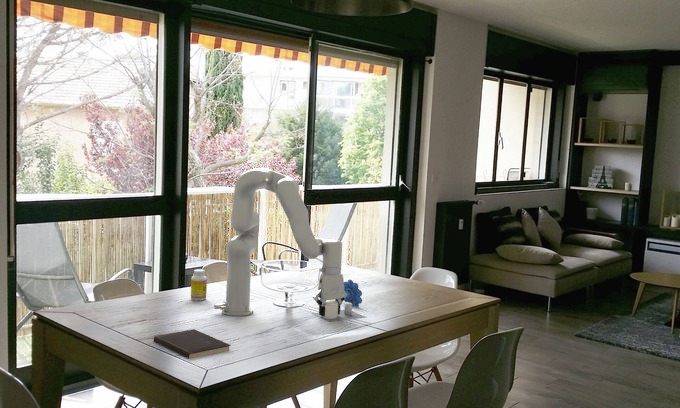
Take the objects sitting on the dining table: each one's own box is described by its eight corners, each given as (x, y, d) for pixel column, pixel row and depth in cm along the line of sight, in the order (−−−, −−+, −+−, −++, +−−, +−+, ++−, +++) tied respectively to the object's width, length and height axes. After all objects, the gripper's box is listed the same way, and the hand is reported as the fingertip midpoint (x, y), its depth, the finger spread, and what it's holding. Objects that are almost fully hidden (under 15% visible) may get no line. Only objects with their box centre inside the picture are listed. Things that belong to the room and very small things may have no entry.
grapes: (334, 306, 296) (335, 279, 295) (344, 303, 301) (346, 277, 300) (354, 311, 288) (355, 283, 287) (364, 309, 293) (366, 281, 292)
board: (329, 325, 264) (329, 310, 263) (310, 317, 276) (311, 302, 275) (366, 320, 274) (367, 306, 273) (347, 312, 286) (347, 298, 285)
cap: (326, 319, 268) (327, 304, 267) (318, 315, 273) (319, 300, 272) (340, 317, 271) (341, 302, 271) (331, 313, 277) (332, 299, 276)
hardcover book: (193, 335, 245) (194, 329, 244) (230, 351, 228) (230, 344, 228) (153, 342, 234) (153, 336, 233) (188, 360, 217) (188, 353, 217)
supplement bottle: (204, 301, 293) (205, 272, 292) (189, 300, 293) (189, 271, 292) (207, 297, 299) (208, 269, 298) (192, 297, 300) (193, 268, 298)
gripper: (318, 273, 263) (315, 319, 264) (354, 270, 272) (352, 314, 274) (308, 270, 269) (306, 314, 270) (344, 267, 278) (342, 310, 280)
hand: (329, 314), depth 272 cm, fingers closed on cap, 6 cm apart
